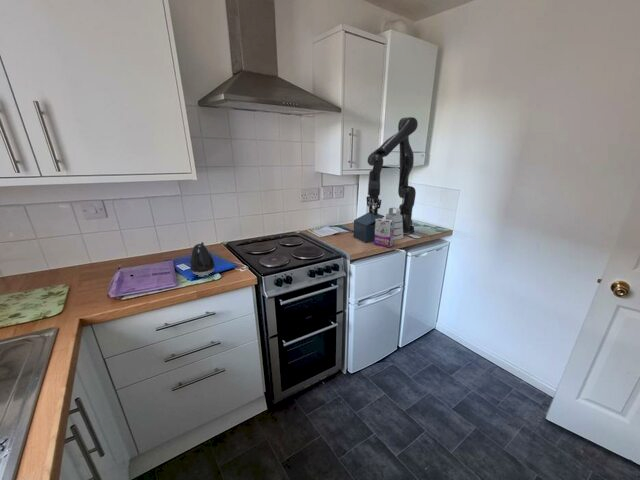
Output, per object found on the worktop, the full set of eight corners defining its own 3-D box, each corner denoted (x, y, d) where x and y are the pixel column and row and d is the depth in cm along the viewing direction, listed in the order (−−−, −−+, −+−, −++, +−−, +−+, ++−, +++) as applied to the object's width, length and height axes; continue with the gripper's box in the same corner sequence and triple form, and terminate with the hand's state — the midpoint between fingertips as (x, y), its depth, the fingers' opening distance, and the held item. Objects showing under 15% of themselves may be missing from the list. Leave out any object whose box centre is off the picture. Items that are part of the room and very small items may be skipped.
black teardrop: (218, 269, 146) (213, 240, 140) (213, 278, 136) (208, 247, 131) (196, 270, 144) (190, 240, 139) (189, 279, 135) (182, 248, 129)
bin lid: (371, 212, 204) (369, 205, 201) (384, 216, 192) (382, 209, 190) (354, 221, 199) (352, 214, 197) (366, 226, 187) (364, 219, 185)
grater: (391, 240, 198) (393, 210, 191) (381, 236, 206) (383, 207, 199) (403, 238, 203) (406, 209, 196) (393, 234, 212) (395, 206, 204)
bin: (369, 234, 210) (370, 219, 206) (382, 240, 198) (383, 224, 194) (353, 236, 203) (353, 221, 199) (365, 243, 191) (366, 226, 187)
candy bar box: (393, 245, 188) (395, 220, 182) (389, 247, 184) (391, 221, 178) (377, 242, 193) (378, 217, 187) (373, 244, 189) (375, 219, 183)
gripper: (385, 188, 186) (384, 215, 192) (372, 185, 197) (371, 211, 204) (375, 189, 182) (374, 216, 189) (363, 186, 193) (362, 212, 200)
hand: (373, 213), depth 196 cm, fingers closed on bin lid, 5 cm apart
